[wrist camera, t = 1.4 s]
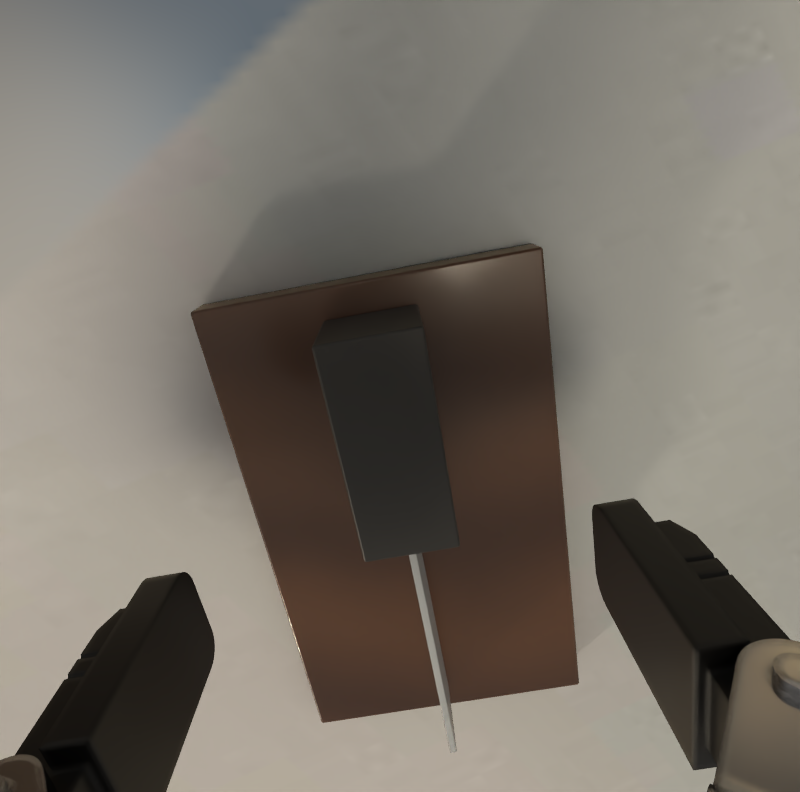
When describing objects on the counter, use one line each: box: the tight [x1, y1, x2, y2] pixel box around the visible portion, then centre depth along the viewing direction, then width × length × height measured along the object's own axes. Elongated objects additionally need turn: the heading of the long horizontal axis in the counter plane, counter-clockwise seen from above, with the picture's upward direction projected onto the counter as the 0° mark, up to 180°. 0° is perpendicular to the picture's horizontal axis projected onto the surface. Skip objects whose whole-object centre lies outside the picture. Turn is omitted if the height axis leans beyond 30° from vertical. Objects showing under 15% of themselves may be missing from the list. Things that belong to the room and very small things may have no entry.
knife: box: [312, 304, 460, 752], centre depth 18 cm, size 16×3×3 cm, turn 10°
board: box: [191, 244, 579, 723], centre depth 20 cm, size 18×11×1 cm, turn 10°
